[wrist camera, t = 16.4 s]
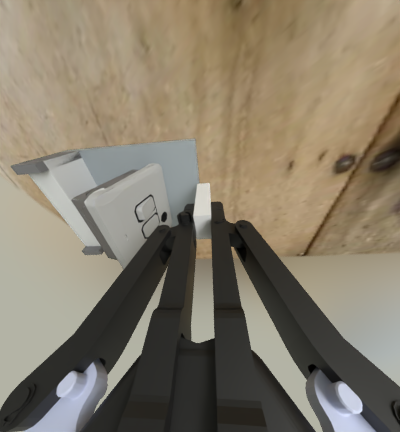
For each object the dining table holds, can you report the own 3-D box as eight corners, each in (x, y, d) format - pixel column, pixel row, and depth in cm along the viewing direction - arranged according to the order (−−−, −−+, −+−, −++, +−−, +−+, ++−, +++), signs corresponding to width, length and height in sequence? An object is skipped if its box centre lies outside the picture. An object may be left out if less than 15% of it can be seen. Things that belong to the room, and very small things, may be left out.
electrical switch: (173, 222, 23) (148, 278, 15) (142, 221, 23) (104, 273, 16) (162, 160, 17) (113, 199, 10) (121, 161, 18) (47, 197, 10)
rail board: (67, 150, 18) (10, 165, 13) (195, 138, 17) (190, 150, 11) (110, 224, 25) (85, 254, 20) (202, 220, 24) (201, 251, 18)
